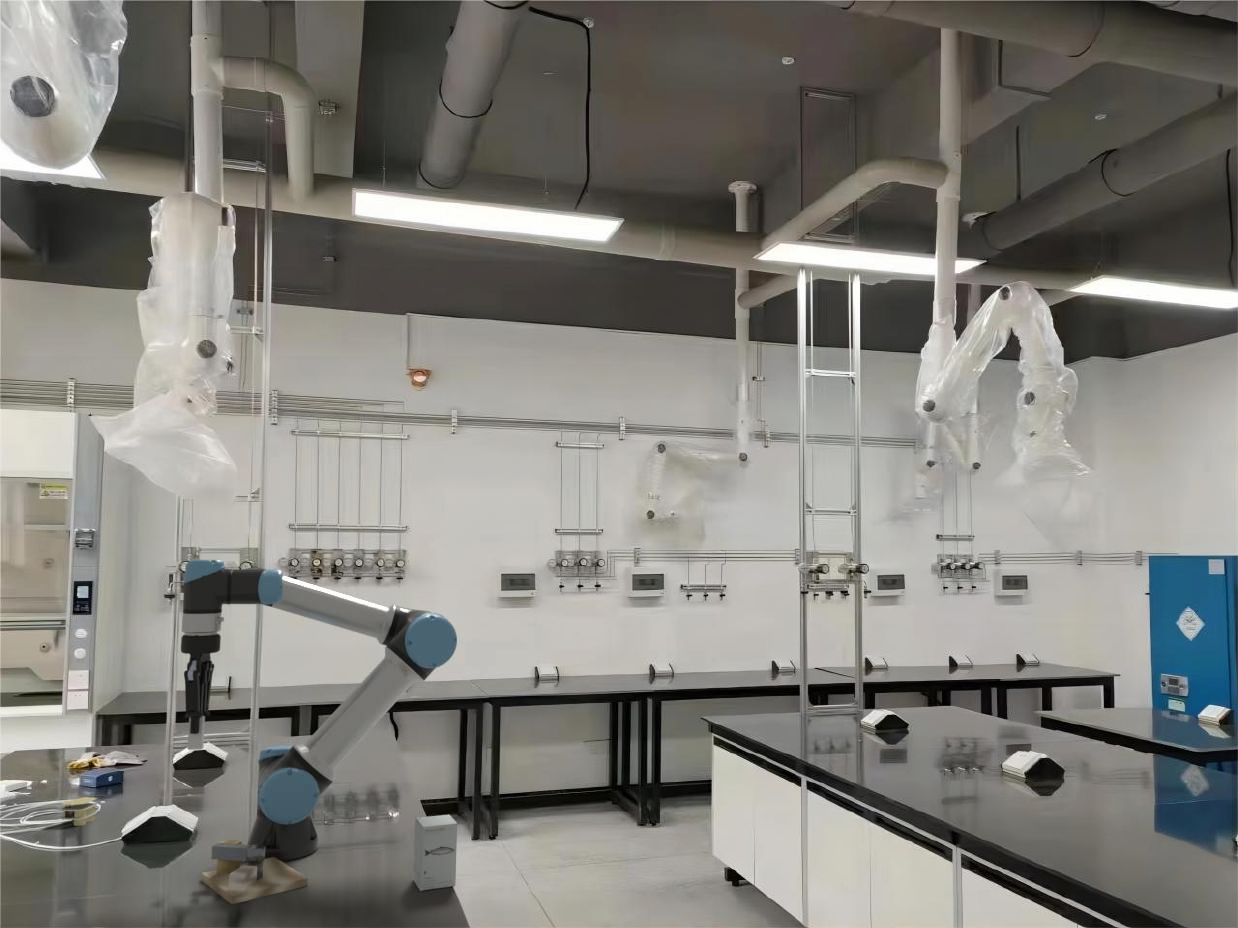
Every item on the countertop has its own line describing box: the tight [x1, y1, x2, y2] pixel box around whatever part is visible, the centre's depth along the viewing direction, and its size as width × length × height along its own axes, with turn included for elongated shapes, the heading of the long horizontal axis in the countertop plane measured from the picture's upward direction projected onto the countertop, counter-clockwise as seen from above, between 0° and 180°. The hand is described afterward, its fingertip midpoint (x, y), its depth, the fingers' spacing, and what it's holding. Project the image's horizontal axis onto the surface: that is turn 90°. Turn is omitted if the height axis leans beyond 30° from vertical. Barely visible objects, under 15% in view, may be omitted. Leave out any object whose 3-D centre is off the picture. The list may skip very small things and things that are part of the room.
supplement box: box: [412, 814, 458, 892], centre depth 189 cm, size 7×7×13 cm
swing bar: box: [211, 842, 266, 863], centre depth 187 cm, size 11×4×2 cm, turn 82°
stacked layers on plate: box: [60, 796, 99, 827], centre depth 228 cm, size 10×9×6 cm
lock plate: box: [201, 839, 309, 905], centre depth 188 cm, size 15×17×8 cm
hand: (195, 748), depth 191 cm, fingers closed
